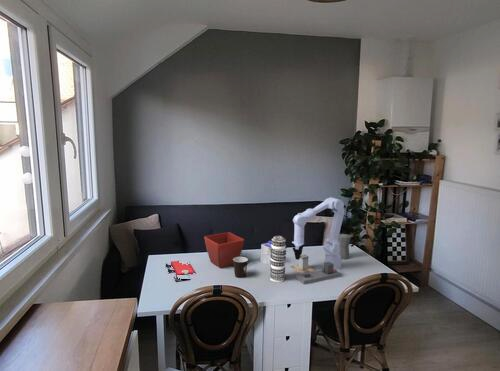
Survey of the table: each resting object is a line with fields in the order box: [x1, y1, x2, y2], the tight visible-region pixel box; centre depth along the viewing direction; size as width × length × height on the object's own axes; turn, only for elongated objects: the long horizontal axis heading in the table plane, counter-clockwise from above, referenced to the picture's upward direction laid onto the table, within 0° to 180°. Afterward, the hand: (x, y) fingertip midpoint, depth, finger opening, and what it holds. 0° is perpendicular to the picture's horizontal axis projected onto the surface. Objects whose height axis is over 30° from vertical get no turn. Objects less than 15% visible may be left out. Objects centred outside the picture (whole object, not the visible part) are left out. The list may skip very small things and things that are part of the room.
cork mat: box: [290, 264, 317, 274], centre depth 211 cm, size 12×12×1 cm
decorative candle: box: [269, 235, 287, 283], centre depth 194 cm, size 9×9×25 cm
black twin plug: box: [322, 261, 334, 275], centre depth 200 cm, size 4×4×8 cm
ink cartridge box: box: [260, 240, 272, 267], centre depth 218 cm, size 10×6×14 cm, turn 38°
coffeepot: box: [338, 230, 358, 260], centre depth 231 cm, size 15×9×18 cm, turn 94°
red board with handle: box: [165, 260, 197, 282], centre depth 206 cm, size 30×3×15 cm
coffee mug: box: [233, 256, 250, 279], centre depth 200 cm, size 12×9×10 cm
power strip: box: [295, 269, 342, 285], centre depth 197 cm, size 26×8×3 cm, turn 116°
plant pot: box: [204, 232, 245, 269], centre depth 217 cm, size 19×19×17 cm
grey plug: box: [298, 254, 309, 270], centre depth 210 cm, size 4×4×8 cm
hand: (298, 257), depth 204 cm, fingers open, 7 cm apart
